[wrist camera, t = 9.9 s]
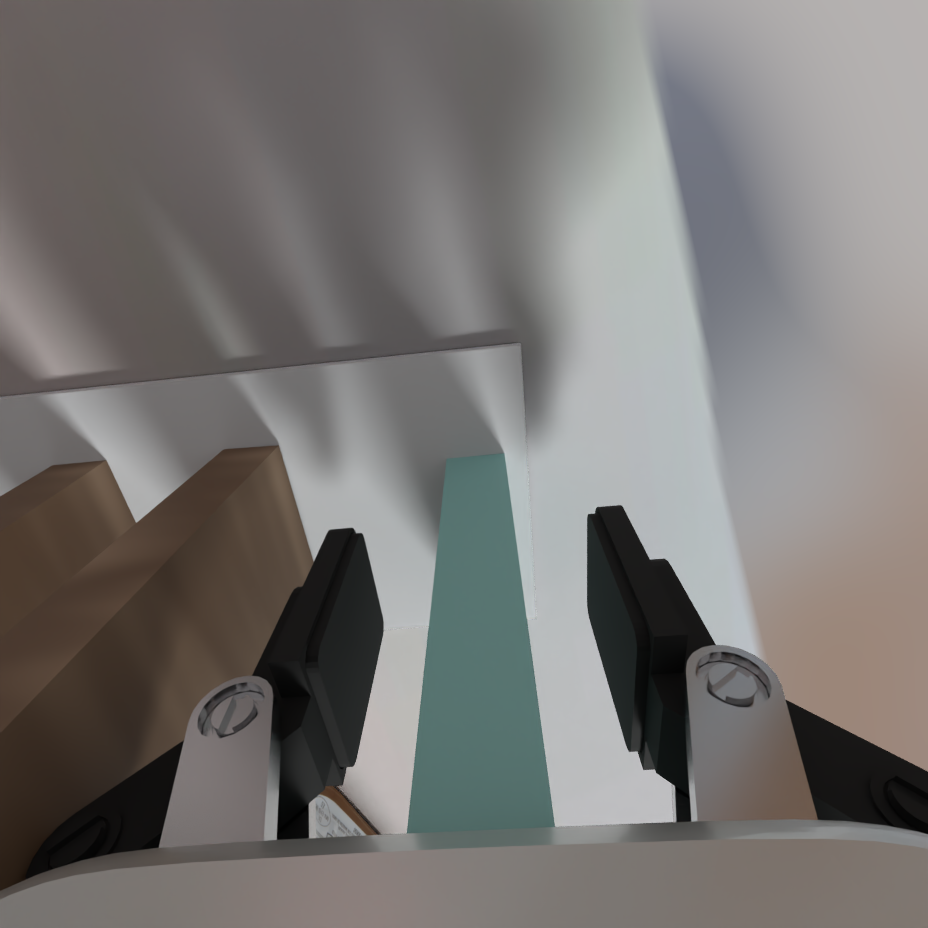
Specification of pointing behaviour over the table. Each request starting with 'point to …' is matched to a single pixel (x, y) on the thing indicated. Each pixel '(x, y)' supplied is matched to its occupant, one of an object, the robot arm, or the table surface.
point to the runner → (307, 447)
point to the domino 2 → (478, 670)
